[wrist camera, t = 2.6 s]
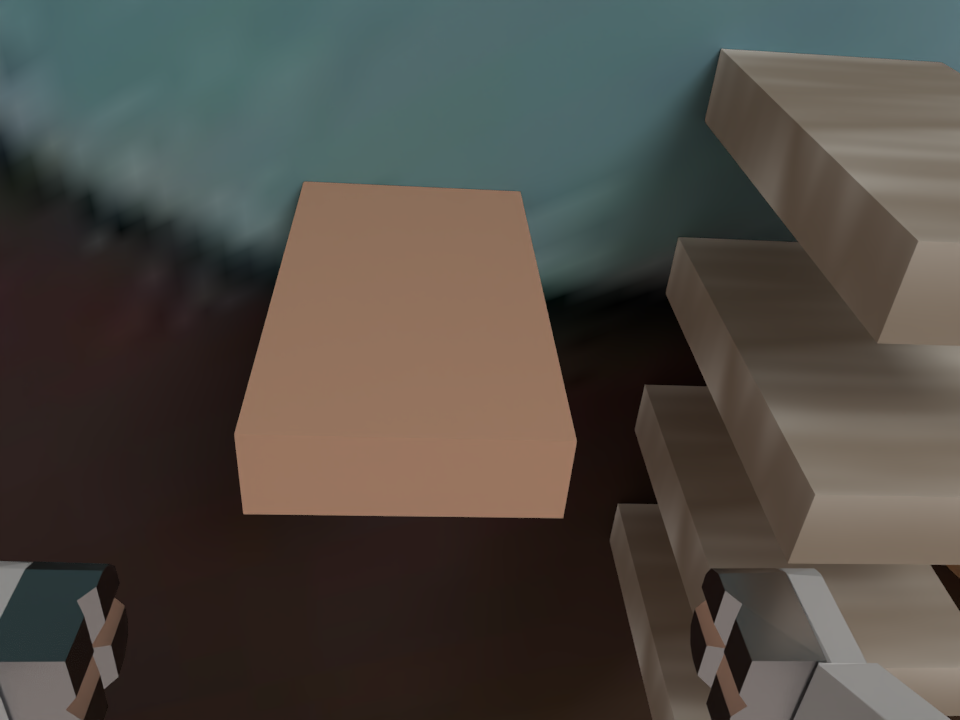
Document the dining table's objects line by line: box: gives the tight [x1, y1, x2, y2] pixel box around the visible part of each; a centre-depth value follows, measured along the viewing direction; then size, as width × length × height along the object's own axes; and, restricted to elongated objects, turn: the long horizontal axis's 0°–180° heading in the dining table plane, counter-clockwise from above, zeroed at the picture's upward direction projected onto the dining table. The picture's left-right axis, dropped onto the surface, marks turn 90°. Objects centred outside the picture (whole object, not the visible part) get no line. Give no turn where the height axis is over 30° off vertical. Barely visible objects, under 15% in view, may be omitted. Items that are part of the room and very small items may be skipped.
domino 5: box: [635, 385, 960, 716], centre depth 21 cm, size 2×5×9 cm, turn 85°
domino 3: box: [705, 49, 960, 346], centre depth 16 cm, size 2×5×9 cm, turn 86°
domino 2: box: [609, 504, 711, 720], centre depth 23 cm, size 2×5×9 cm, turn 86°
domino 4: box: [666, 237, 960, 565], centre depth 18 cm, size 2×5×9 cm, turn 86°
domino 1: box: [234, 182, 577, 518], centre depth 17 cm, size 2×5×9 cm, turn 86°
